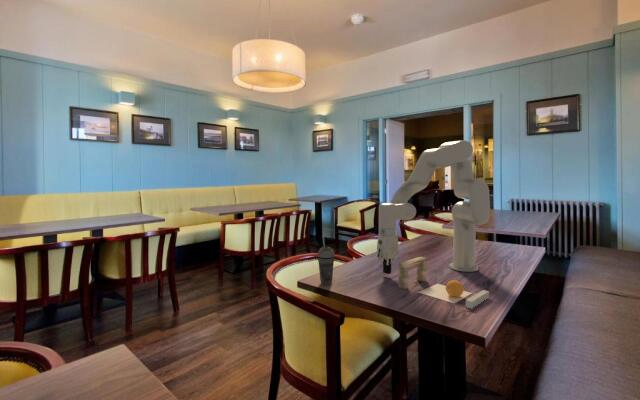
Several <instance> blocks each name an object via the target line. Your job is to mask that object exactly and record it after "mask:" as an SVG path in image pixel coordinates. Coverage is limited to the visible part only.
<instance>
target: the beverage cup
mask: <svg viewBox="0 0 640 400" xmlns="http://www.w3.org/2000/svg"><path fill="white" fill-rule="evenodd" d="M322 244H323V246H322V247H321V248H319V250H318V251H317V262H318V271H319V278H320V279H319V280H320V285H321V286H326V287H328V286H332V285H333V284H332V283H333V275H334V274H333V273H334V264H335V263H334V262H335V258H336V256H335V251H334V249H333V248H332V247H330V246H327V245H326V244H325V236H324V235H322Z"/></svg>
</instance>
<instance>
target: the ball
mask: <svg viewBox="0 0 640 400" xmlns="http://www.w3.org/2000/svg"><path fill="white" fill-rule="evenodd" d="M445 286H446V291H447V293H448V294H449V295H450V296H452V297H459V296H461V295H462V293H463V291H465V288H464V286H463V284H462V282H460V281H459V280H456V279H451V280H449V281H448V282H447V283H446V284H445Z"/></svg>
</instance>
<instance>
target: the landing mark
mask: <svg viewBox="0 0 640 400" xmlns="http://www.w3.org/2000/svg"><path fill="white" fill-rule="evenodd" d="M418 294H422V295H425V296H428V297H431V298H435V299H438V300H441V301H444V302H448V303H450V304H456V303H458V302H459V301H461V300H463V299H465V298H467V297H469V296H471V295H472V294H473V293H472V292H469V291H466V290H463V293H462V295H461V296H459V297H452V296H450V295H449V294H448V293H447V291H446V285H443V284H441V283H436V284H433V285H432V286H429V287H427V288H425V289H422V290H421V291H418Z"/></svg>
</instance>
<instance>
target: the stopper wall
mask: <svg viewBox="0 0 640 400" xmlns="http://www.w3.org/2000/svg"><path fill="white" fill-rule="evenodd" d="M486 299H487V300H489V299H490V291H488V290H485V289H483V290H481V291H479V292H477V293H475V294H474V295H472V296H470V297H468V298H466V299H465V308H466V307H467V309H470V308H471V309H470V310H473V309H474V308H475V306H476V307H477V306H479V305H480V304H482V303H484V302H485V301H487V300H486ZM484 300H485V301H484ZM483 301H484V302H483ZM481 302H482V303H481ZM478 304H479V305H478ZM473 307H474V308H473Z"/></svg>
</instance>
